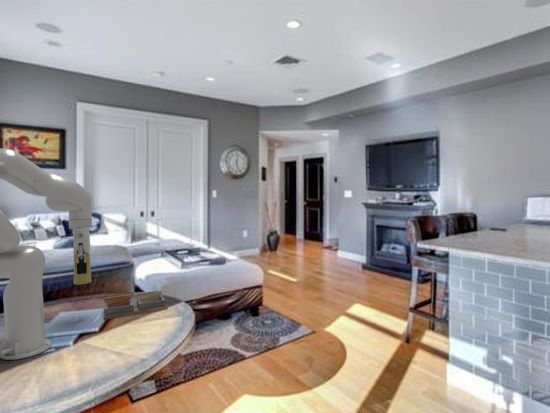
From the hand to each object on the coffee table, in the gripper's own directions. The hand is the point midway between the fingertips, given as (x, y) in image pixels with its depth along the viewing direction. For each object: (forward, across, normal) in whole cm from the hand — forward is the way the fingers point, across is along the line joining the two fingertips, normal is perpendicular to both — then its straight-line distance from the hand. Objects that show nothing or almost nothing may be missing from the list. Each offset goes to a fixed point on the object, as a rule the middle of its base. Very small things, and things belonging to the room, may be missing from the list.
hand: (82, 271), depth 132 cm
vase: (+4, 0, 0) cm, 4 cm away
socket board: (+18, +2, -18) cm, 25 cm away
